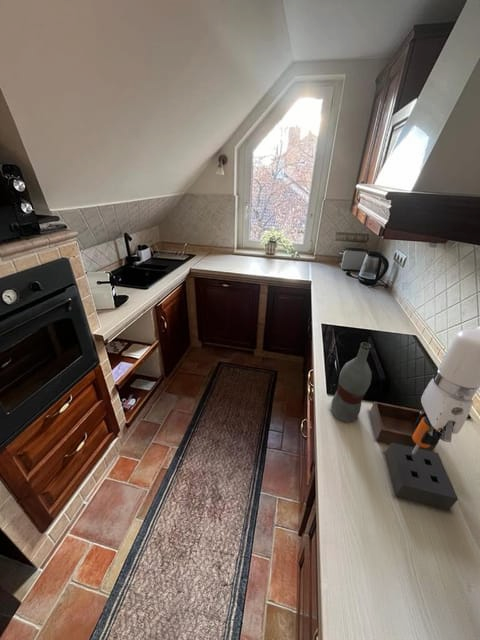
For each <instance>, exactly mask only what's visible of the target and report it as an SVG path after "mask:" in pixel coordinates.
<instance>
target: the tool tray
mask: <svg viewBox="0 0 480 640" xmlns="http://www.w3.org/2000/svg"><path fill="white" fill-rule="evenodd" d="M420 410H421V409H414V408H409V407H405V406H399V405H394V404H389V403H384V402H378V401H373V403H372V405H371V408H370V411H369V415H370V418H371V423H372V427H373V433H374V437H375V440H376V441H377V442H381V443H386V444H390V443H396V444H400V445H405V446H409V447H414V448H415V446H416V443H415V442H414V441H413V439H412V436H413V434H414V432H415V430H416V427H415V425H414V424H415V423H416V421H417V419H418V417H419V415H420ZM436 446H438V443H437V444H436V445H435V446H433V445H430V446H429V447H428V448H424V447H421V446H420V447H419V449H422V450H427V451H431V452H434V450H435V448H436Z"/></svg>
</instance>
